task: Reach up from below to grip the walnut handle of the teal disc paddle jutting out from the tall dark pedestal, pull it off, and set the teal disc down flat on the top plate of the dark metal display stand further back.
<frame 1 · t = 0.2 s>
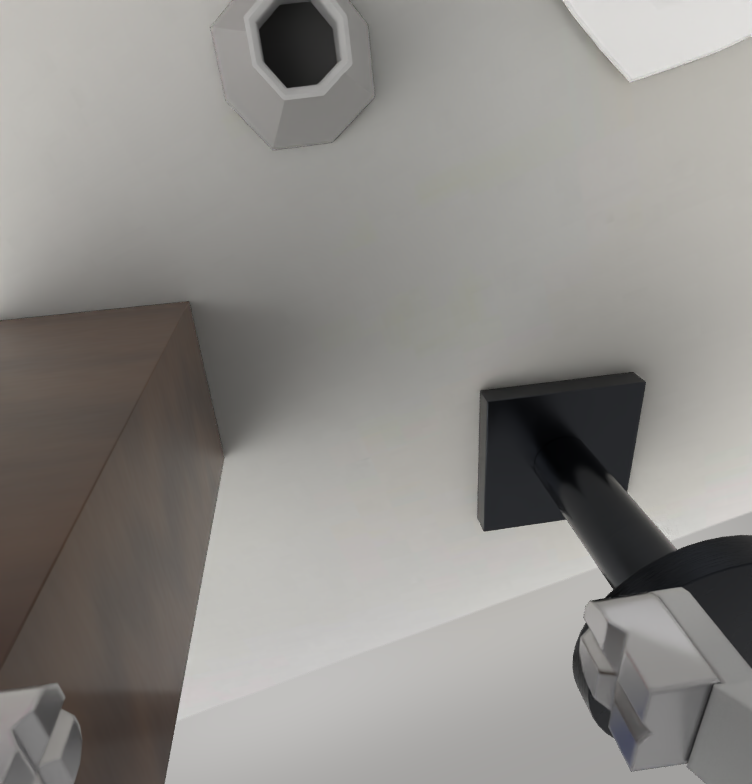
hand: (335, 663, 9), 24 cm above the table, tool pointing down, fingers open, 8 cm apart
pedestal: (117, 395, 32), on the table
display stand: (551, 448, 38), on the table
flask: (295, 64, 26), on the table
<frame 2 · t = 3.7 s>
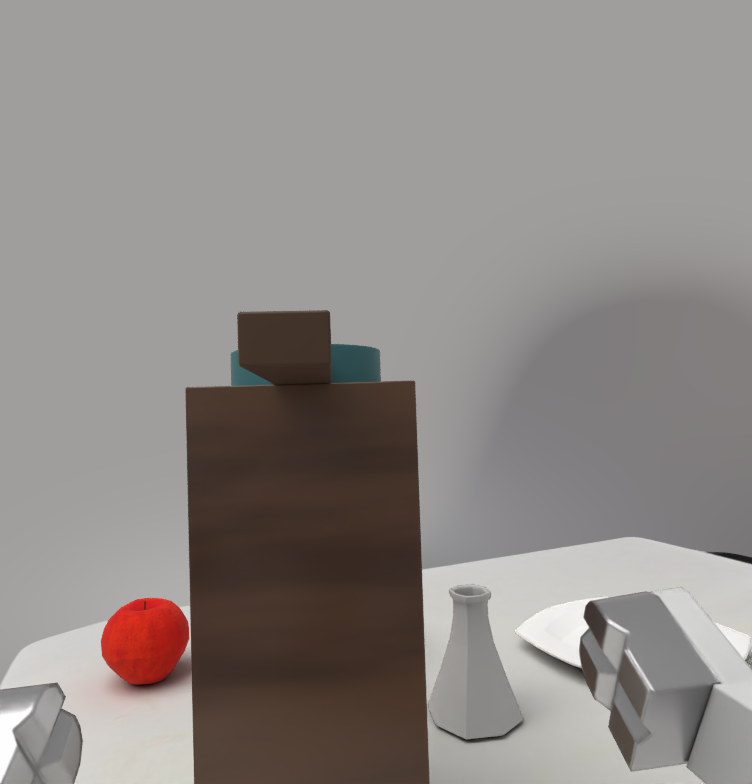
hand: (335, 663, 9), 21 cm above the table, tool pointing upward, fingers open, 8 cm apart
plate: (630, 655, 56), on the table
apple: (146, 680, 54), on the table
disc paddle: (307, 389, 31), point 26 cm above the table, touching pedestal
flask: (474, 718, 45), on the table
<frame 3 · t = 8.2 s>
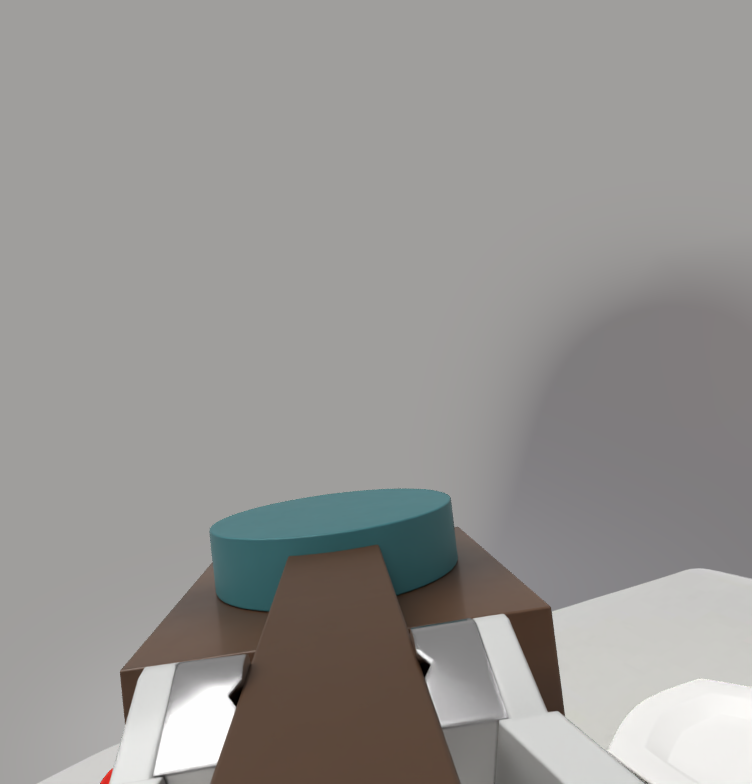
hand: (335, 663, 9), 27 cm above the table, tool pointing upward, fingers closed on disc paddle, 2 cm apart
disc paddle: (338, 568, 19), point 26 cm above the table, touching gripper, pedestal
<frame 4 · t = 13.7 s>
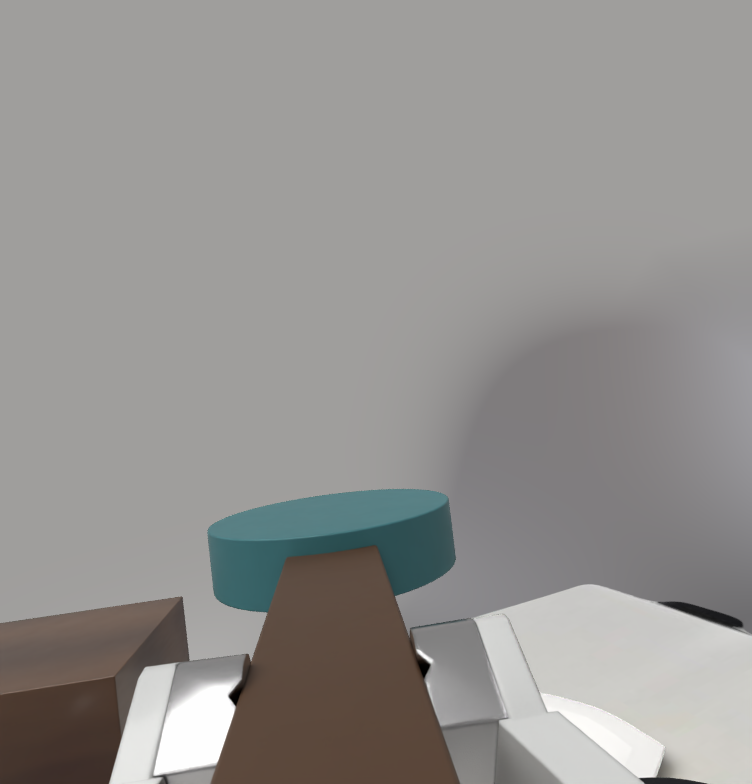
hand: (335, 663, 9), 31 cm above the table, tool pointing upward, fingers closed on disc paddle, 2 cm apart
plate: (542, 772, 52), on the table
disc paddle: (336, 569, 19), point 30 cm above the table, touching gripper
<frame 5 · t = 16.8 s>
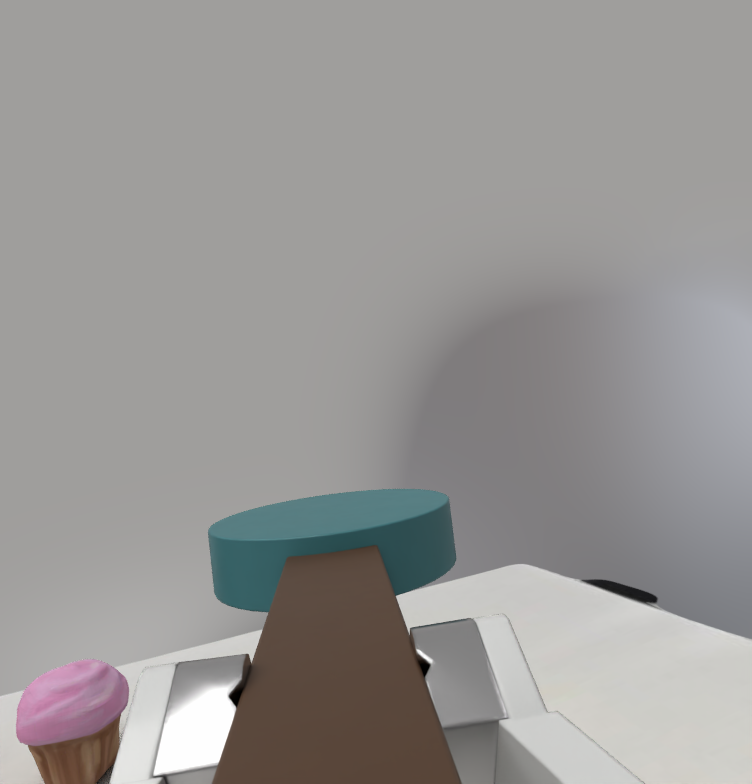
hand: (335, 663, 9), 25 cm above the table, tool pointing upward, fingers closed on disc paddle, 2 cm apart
disc paddle: (337, 569, 19), point 24 cm above the table, touching gripper
cupcake: (81, 781, 50), on the table
when the fingers open (18 cm above the table, at t = 19.2 s): disc paddle stays where it is, resting on display stand.
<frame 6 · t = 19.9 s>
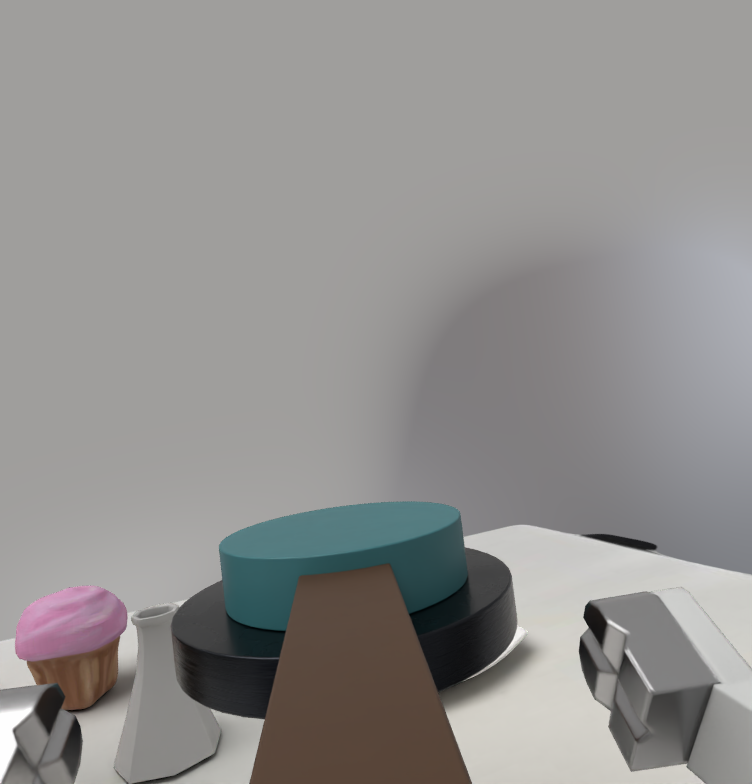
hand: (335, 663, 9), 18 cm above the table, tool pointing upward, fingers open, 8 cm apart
plate: (404, 661, 50), on the table
disc paddle: (348, 584, 19), point 17 cm above the table, touching display stand
flask: (170, 755, 40), on the table
cupcake: (80, 702, 50), on the table
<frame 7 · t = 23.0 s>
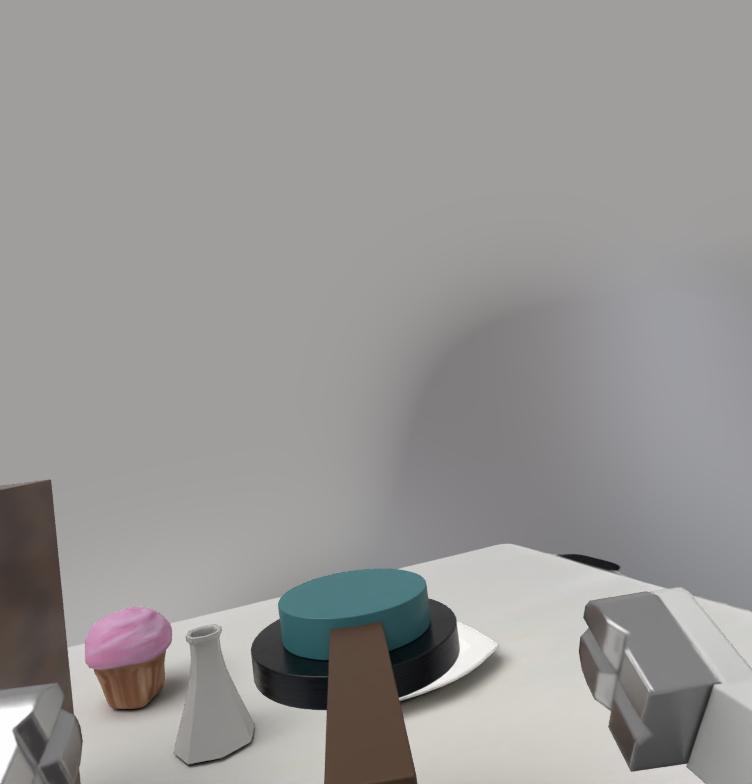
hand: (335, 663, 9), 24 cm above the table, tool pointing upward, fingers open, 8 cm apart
plate: (399, 669, 62), on the table
disc paddle: (357, 627, 30), point 17 cm above the table, touching display stand
flask: (215, 743, 52), on the table
cupcake: (135, 703, 62), on the table
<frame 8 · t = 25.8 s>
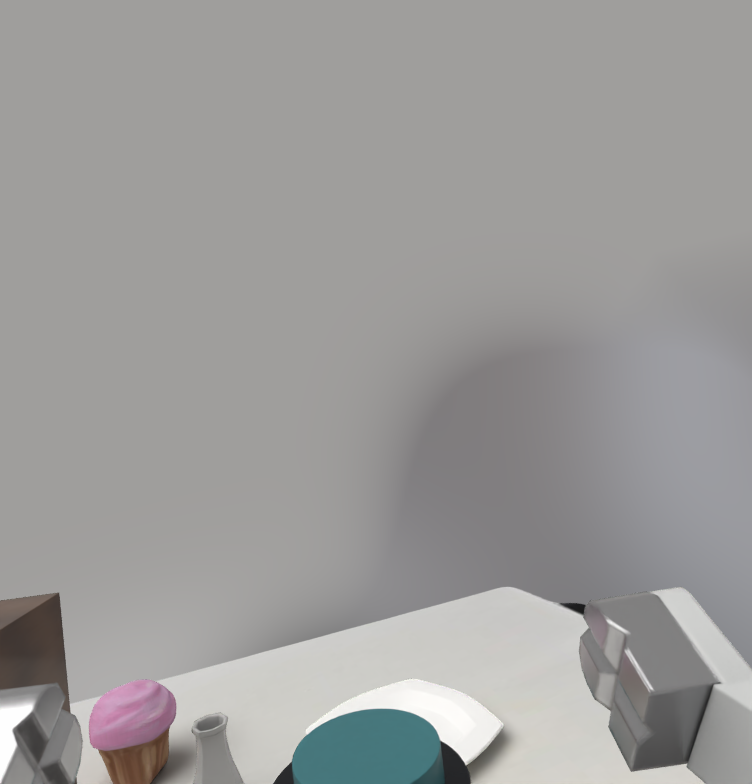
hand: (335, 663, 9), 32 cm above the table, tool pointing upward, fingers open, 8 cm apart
plate: (403, 746, 62), on the table
cupcake: (139, 779, 61), on the table
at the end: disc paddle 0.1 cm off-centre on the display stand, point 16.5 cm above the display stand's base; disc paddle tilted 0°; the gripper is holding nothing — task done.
